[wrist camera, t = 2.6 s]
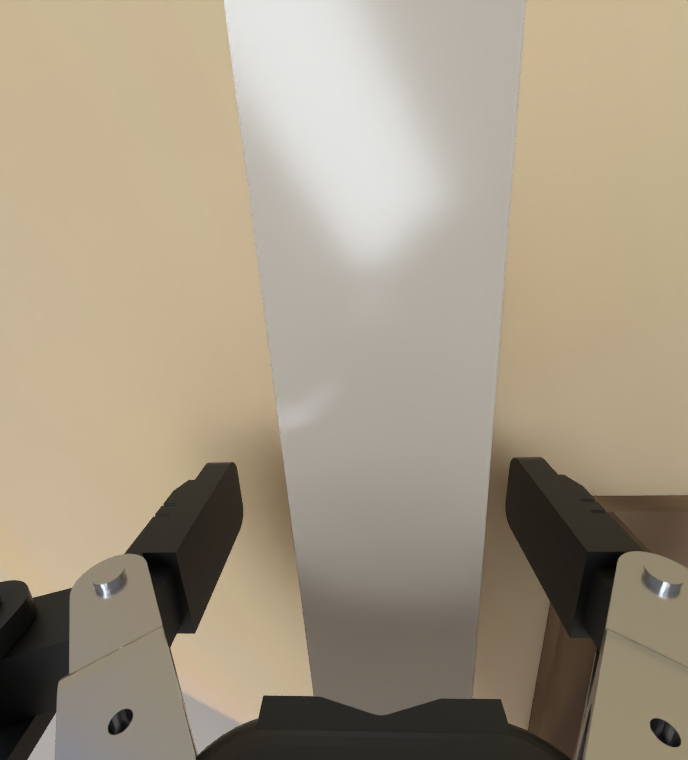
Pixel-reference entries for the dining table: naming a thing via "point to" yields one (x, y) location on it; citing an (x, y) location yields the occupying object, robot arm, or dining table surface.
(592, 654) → the rack
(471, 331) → the gray rectangular block
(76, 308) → the dining table surface
